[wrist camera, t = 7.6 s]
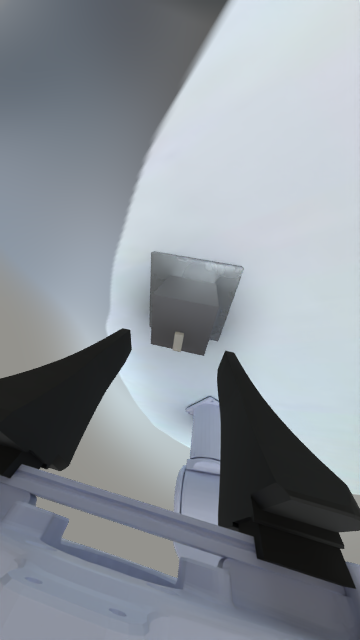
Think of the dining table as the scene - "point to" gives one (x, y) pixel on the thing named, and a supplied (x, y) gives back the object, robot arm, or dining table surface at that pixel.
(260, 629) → the robot arm
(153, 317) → the grey cube with tab
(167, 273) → the plate
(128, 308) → the dining table surface
